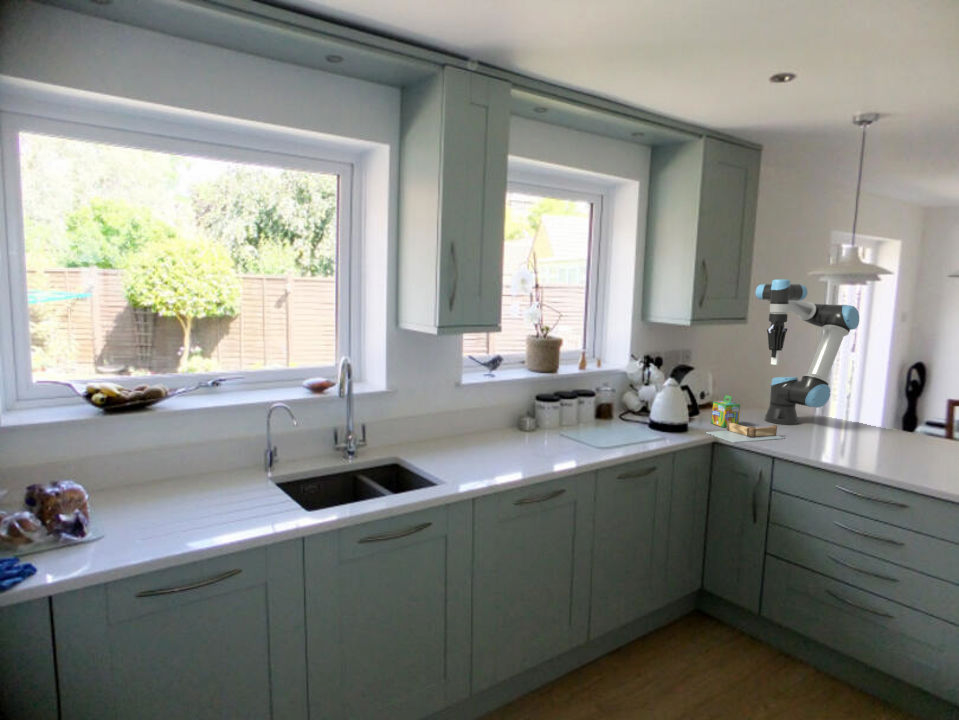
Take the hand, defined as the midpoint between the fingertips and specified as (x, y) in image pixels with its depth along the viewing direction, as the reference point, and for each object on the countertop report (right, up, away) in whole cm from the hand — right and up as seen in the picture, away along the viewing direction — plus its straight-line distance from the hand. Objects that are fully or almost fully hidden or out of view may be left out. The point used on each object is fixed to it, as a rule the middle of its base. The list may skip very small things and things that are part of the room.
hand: (774, 364), depth 270 cm
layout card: (-15, -33, -3) cm, 36 cm away
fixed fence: (-8, -33, -5) cm, 34 cm away
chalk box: (-16, -30, +18) cm, 39 cm away
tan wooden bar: (-17, -32, 0) cm, 36 cm away
